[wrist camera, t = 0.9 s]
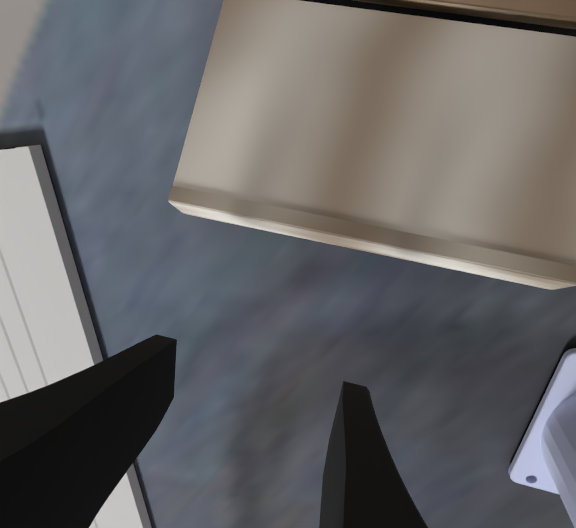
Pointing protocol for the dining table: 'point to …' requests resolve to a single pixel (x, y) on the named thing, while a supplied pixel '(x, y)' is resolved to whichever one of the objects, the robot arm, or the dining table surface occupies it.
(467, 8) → the floor board
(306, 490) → the dining table surface
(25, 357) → the baseboard
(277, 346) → the dining table surface
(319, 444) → the dining table surface
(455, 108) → the tan flat block
